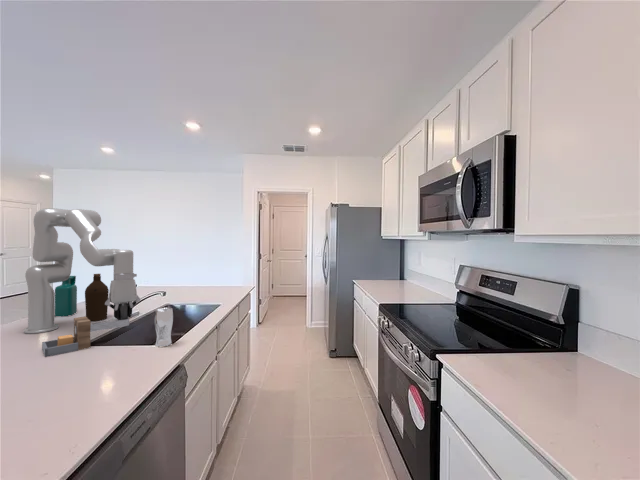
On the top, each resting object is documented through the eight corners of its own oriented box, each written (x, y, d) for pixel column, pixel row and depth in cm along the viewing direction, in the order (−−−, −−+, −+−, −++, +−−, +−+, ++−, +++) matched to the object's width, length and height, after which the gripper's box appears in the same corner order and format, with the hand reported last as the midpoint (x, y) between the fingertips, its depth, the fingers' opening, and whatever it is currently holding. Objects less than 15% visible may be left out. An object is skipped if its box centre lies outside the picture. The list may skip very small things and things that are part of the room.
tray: (42, 349, 123) (42, 342, 123) (73, 343, 131) (73, 336, 131) (45, 357, 116) (45, 349, 116) (78, 350, 123) (78, 342, 123)
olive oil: (112, 318, 171) (112, 273, 171) (90, 323, 162) (90, 275, 162) (102, 315, 176) (103, 272, 176) (80, 320, 167) (81, 274, 167)
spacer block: (71, 345, 128) (57, 347, 124) (71, 334, 128) (57, 336, 124) (72, 347, 125) (58, 350, 121) (73, 336, 125) (59, 339, 121)
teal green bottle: (70, 316, 175) (71, 277, 175) (53, 317, 173) (53, 277, 172) (79, 312, 184) (79, 275, 184) (62, 312, 182) (62, 275, 182)
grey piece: (74, 332, 128) (74, 308, 128) (126, 323, 142) (126, 302, 142) (76, 334, 125) (76, 310, 125) (129, 325, 139) (129, 303, 139)
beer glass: (167, 347, 127) (167, 311, 127) (150, 347, 128) (151, 311, 128) (175, 341, 134) (176, 307, 134) (160, 341, 135) (160, 307, 134)
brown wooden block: (73, 343, 130) (73, 318, 130) (85, 341, 133) (85, 316, 133) (78, 350, 123) (78, 322, 123) (90, 347, 126) (90, 320, 126)
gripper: (141, 275, 148) (141, 313, 148) (99, 277, 136) (98, 319, 136) (146, 276, 142) (146, 315, 143) (103, 279, 130) (102, 322, 130)
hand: (123, 317), depth 139 cm, fingers closed on grey piece, 4 cm apart
